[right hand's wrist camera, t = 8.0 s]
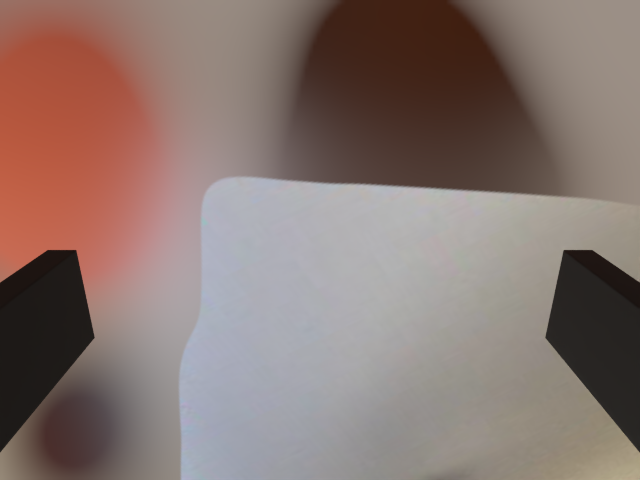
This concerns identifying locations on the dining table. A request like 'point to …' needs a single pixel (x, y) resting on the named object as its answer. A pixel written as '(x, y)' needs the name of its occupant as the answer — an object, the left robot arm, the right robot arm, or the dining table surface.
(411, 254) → the dining table surface
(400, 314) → the dining table surface
